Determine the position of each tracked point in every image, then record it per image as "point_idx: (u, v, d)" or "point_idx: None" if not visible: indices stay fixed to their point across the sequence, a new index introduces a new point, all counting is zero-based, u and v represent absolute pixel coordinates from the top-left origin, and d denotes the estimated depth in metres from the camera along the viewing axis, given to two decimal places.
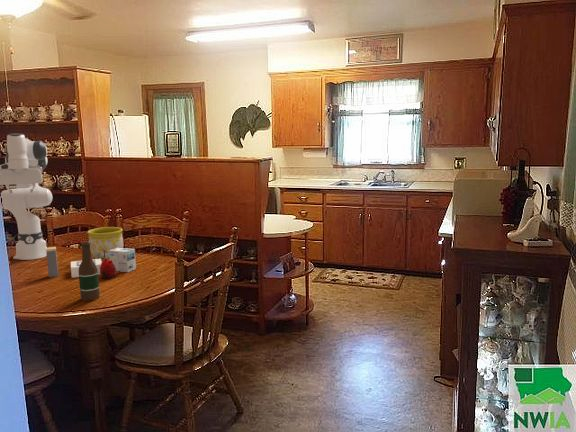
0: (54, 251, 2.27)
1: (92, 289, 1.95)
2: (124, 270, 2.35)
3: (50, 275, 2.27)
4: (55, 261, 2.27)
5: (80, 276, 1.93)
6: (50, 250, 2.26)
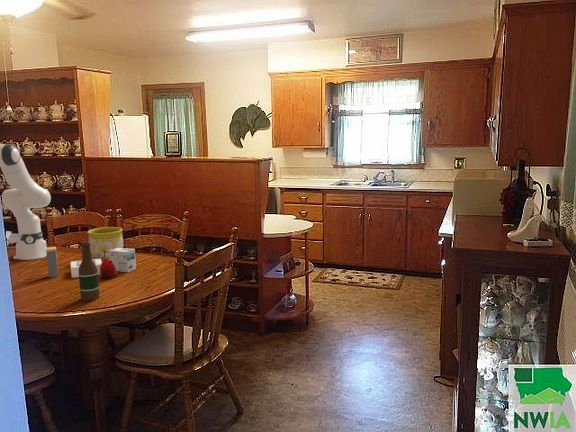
0: (54, 251, 2.27)
1: (92, 289, 1.95)
2: (124, 270, 2.35)
3: (50, 275, 2.27)
4: (55, 261, 2.27)
5: (80, 276, 1.93)
6: (50, 250, 2.26)
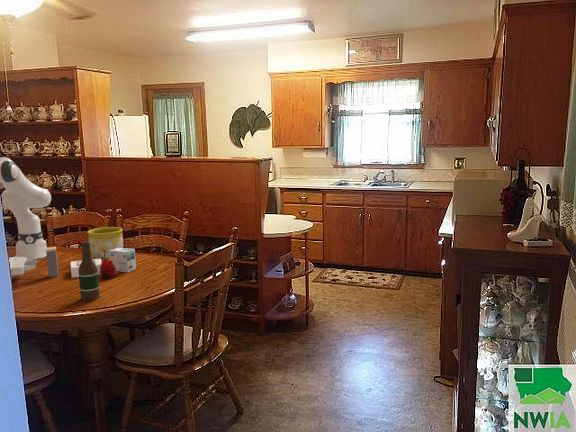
0: (54, 251, 2.27)
1: (92, 289, 1.95)
2: (124, 270, 2.35)
3: (50, 275, 2.27)
4: (55, 261, 2.27)
5: (80, 276, 1.93)
6: (50, 250, 2.26)
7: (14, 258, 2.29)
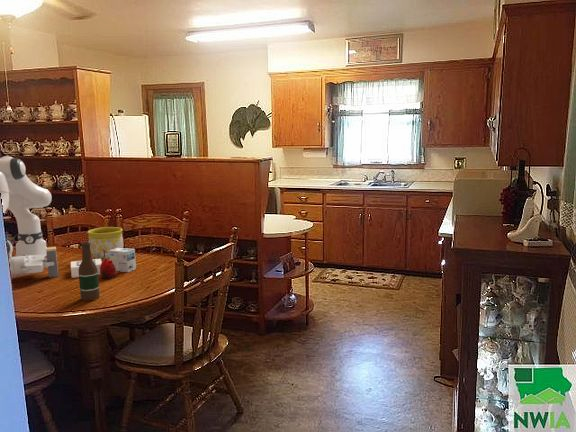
0: (54, 251, 2.27)
1: (92, 289, 1.95)
2: (124, 270, 2.35)
3: (50, 275, 2.27)
4: (55, 261, 2.27)
5: (80, 276, 1.93)
6: (50, 250, 2.26)
7: (32, 256, 2.32)
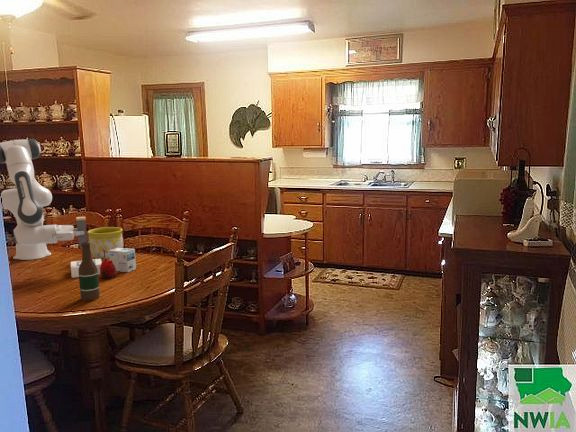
0: (84, 220, 2.29)
1: (92, 289, 1.95)
2: (124, 270, 2.35)
3: (80, 244, 2.30)
4: (85, 230, 2.30)
5: (80, 276, 1.93)
6: (80, 219, 2.28)
7: (62, 226, 2.34)
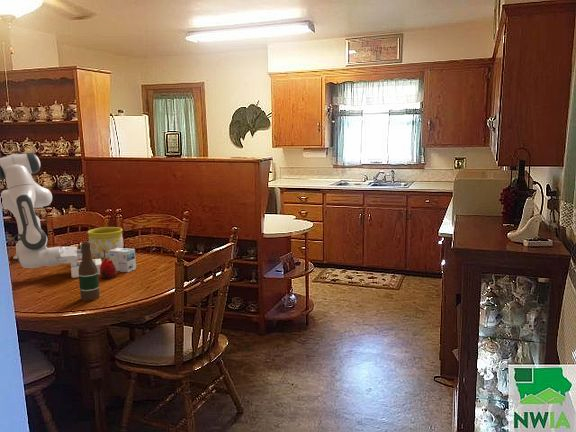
0: None
1: (92, 289, 1.95)
2: (124, 270, 2.35)
3: None
4: None
5: (80, 276, 1.93)
6: None
7: (65, 247, 2.36)
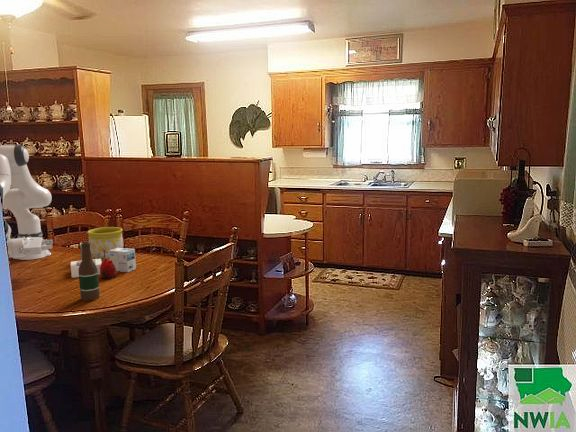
0: None
1: (92, 289, 1.95)
2: (124, 270, 2.35)
3: None
4: None
5: (80, 276, 1.93)
6: None
7: (30, 238, 2.31)
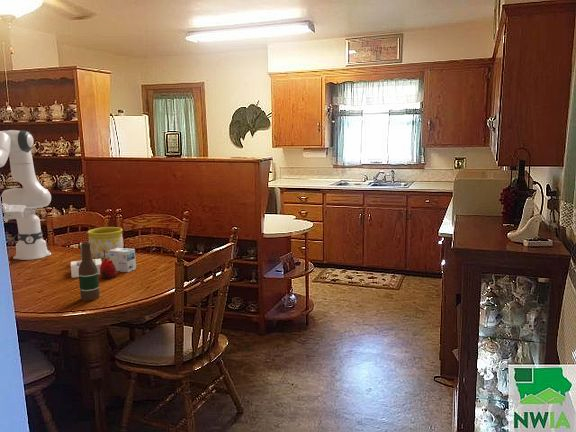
0: None
1: (92, 289, 1.95)
2: (124, 270, 2.35)
3: None
4: None
5: (80, 276, 1.93)
6: None
7: (14, 206, 2.29)
